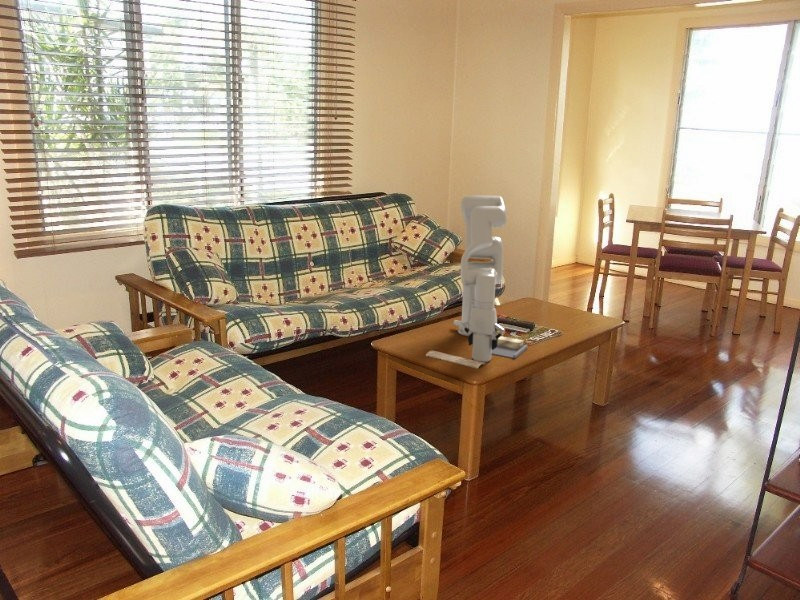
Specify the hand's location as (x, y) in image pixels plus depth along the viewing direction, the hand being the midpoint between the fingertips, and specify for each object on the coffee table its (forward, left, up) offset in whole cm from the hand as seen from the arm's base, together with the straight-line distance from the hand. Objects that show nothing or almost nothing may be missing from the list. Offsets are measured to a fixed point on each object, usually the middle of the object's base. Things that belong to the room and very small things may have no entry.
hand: (482, 346), depth 278 cm
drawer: (+3, +15, -6) cm, 16 cm away
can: (0, 0, -6) cm, 6 cm away
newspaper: (-9, -5, -7) cm, 12 cm away
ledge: (+3, +20, -6) cm, 21 cm away
